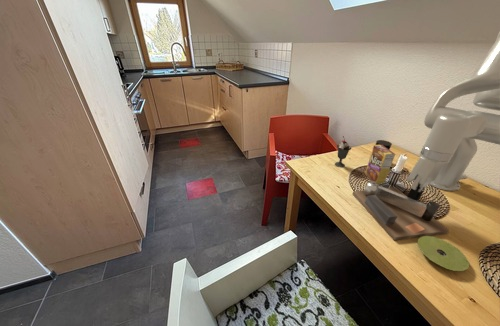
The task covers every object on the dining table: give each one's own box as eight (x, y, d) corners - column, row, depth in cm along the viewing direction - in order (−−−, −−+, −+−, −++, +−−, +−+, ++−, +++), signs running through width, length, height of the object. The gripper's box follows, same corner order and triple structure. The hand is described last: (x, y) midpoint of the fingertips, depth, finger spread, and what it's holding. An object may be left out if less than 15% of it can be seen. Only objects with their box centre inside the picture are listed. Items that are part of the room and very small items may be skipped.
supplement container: (385, 159, 108) (391, 141, 102) (384, 165, 103) (391, 146, 97) (370, 156, 111) (376, 139, 105) (369, 161, 106) (376, 143, 100)
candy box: (363, 173, 96) (373, 144, 88) (372, 173, 96) (383, 144, 88) (374, 184, 88) (385, 153, 81) (384, 184, 88) (396, 153, 81)
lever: (362, 193, 80) (367, 180, 77) (366, 189, 82) (371, 176, 79) (429, 223, 66) (438, 209, 63) (432, 217, 68) (440, 203, 65)
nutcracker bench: (394, 190, 85) (398, 180, 82) (447, 233, 65) (455, 222, 63) (352, 194, 83) (355, 184, 80) (393, 240, 63) (399, 229, 61)
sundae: (334, 160, 107) (340, 134, 100) (348, 163, 104) (355, 137, 96) (330, 165, 103) (337, 138, 95) (344, 169, 99) (352, 141, 92)
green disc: (417, 233, 65) (419, 229, 64) (464, 254, 59) (468, 250, 58) (412, 257, 58) (415, 253, 57) (465, 284, 52) (470, 279, 51)
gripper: (433, 144, 70) (412, 186, 79) (410, 154, 64) (390, 199, 73) (461, 152, 64) (434, 197, 74) (439, 164, 58) (413, 211, 67)
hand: (412, 198), depth 73 cm, fingers closed
